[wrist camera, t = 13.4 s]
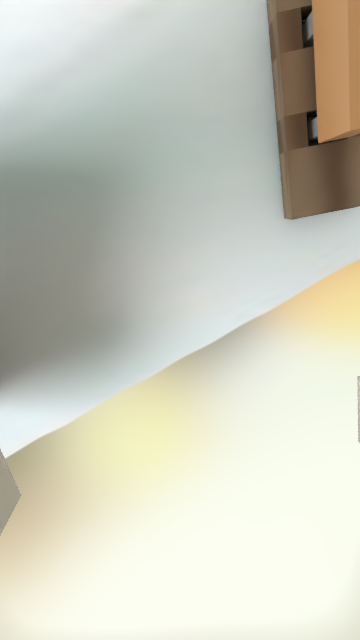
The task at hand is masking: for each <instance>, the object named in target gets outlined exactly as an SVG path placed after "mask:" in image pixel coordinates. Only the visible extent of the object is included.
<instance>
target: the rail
mask: <svg viewBox="0 0 360 640" xmlns="http://www.w3.org/2000/svg"><path fill="white" fill-rule="evenodd" d="M267 9H268V22H269V34H270V46H271V58H272V71H273V83H274V95H275V108H276V120H277V132H278V144H279V157H280V169H281V181H282V194H283V206H284V218H286V219H297V218H302V217H307V216H312V215H317V214H322V213H328V212H333V211H338V210H343V209H348V208H353V207H358V206H360V134H357V135H354V136H351V137H347V138H342V139H337V140H336V141H334V142H329V143H324V144H319V145H314V146H309V147H308V131H307V116H309V115H314V114H317V103H316V81H315V59H314V46H313V47H308V48H304V49H303V40H302V21H301V20H302V19H306V18H307V17H308V16H309V15H310V13H311V12H312V0H267Z"/></svg>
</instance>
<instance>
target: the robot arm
mask: <svg viewBox="0 0 360 640" xmlns="http://www.w3.org/2000/svg"><path fill="white" fill-rule="evenodd" d="M358 433H359V434H358V439H359V440H358V441H359V442H360V376H359V377H358ZM20 496H21V494H20V492H19V489H18V487H17V485H16V483H15V481H14V479H13V476H12V474H11V472H10V470H9V467H8V465H7V463H6V461H5V458H4V456H3V454H2V452H1V450H0V535H1V533H2V531H3V529H4V527H5V525H6V523H7V521H8V519H9V518H10V516H11V514H12V512H13V510H14V508H15V506H16V504H17V502H18V500H19V498H20Z"/></svg>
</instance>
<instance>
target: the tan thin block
mask: <svg viewBox="0 0 360 640" xmlns="http://www.w3.org/2000/svg"><path fill="white" fill-rule="evenodd" d="M302 40H303V49H304V48H308V47H313V46H314V59H315V81H316V103H317V117H316V118H314V119H312V120H311V121H309V122H307V131H308V141H311V140H315V139H318V143H323V142H327V141H332V140H337V139H342V138H347V137H351V136H354V135H357V134H360V0H312V12H311V13H310V15H309V16H308V17H307V19H306V20H305V22H304V23H303V24H302Z"/></svg>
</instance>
